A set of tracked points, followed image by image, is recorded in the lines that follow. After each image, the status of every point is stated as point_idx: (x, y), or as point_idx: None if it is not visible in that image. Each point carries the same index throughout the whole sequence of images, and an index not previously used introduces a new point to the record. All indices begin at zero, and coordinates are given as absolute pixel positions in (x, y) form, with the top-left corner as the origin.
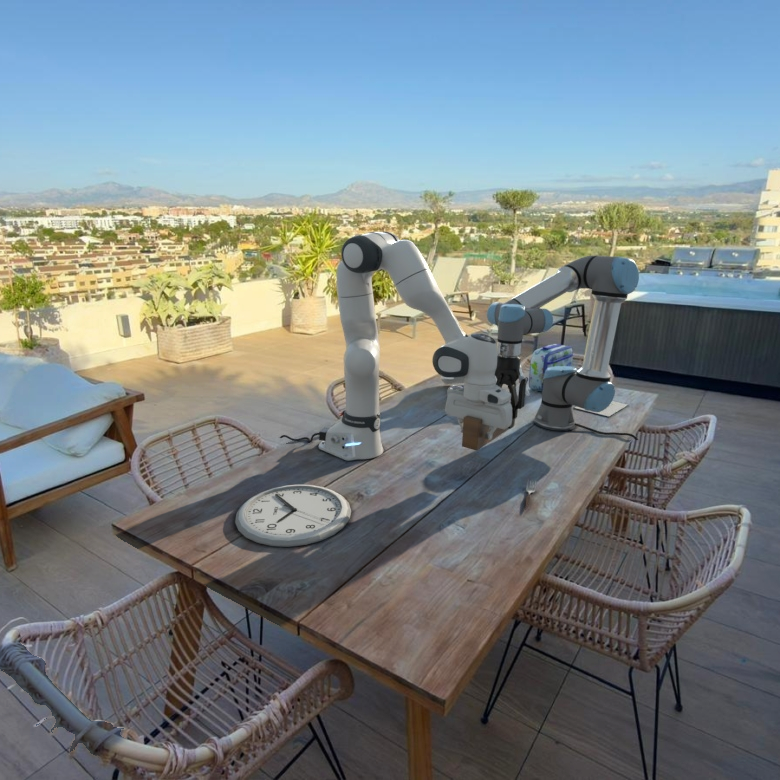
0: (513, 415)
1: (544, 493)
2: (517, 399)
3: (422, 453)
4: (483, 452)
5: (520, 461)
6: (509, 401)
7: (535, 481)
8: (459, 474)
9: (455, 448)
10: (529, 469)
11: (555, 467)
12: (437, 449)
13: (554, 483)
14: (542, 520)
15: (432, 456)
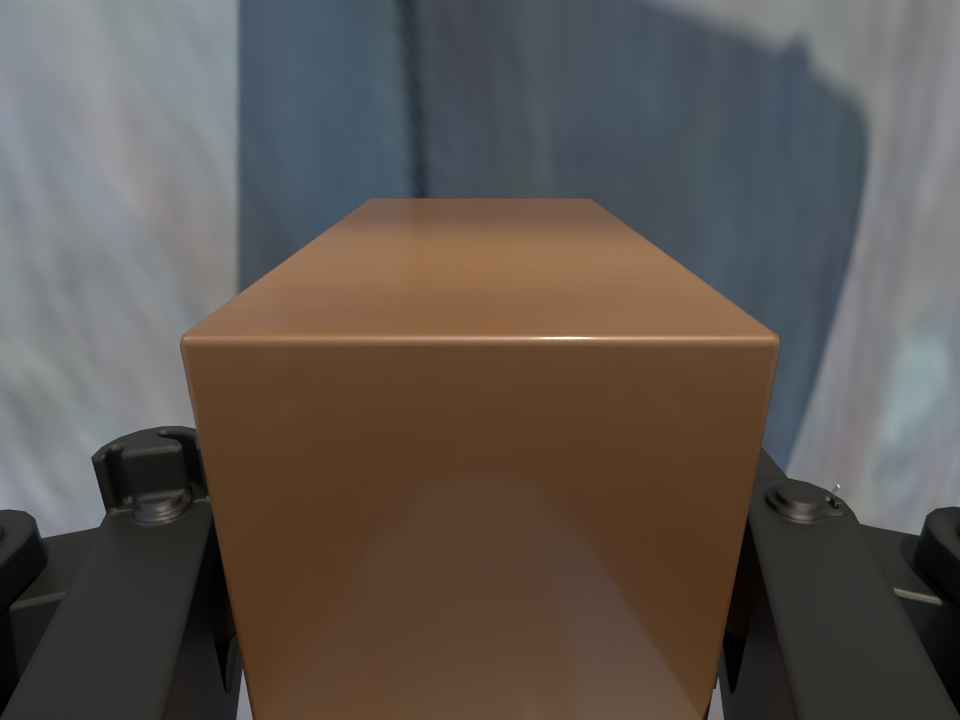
0: None
1: (879, 497)
2: (926, 673)
3: (14, 479)
4: (304, 189)
5: (620, 159)
6: (649, 702)
7: (836, 490)
8: None
9: (98, 264)
10: (723, 253)
11: (904, 81)
12: (25, 365)
13: (923, 349)
14: None
15: (94, 477)
